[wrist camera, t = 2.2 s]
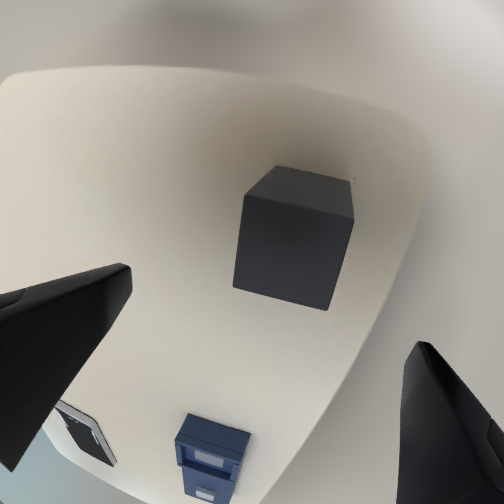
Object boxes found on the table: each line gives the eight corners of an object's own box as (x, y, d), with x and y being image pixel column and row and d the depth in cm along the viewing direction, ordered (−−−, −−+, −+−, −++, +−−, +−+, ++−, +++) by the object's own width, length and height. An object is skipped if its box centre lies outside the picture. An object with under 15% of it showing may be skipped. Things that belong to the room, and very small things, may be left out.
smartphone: (80, 449, 44) (52, 403, 37) (83, 444, 45) (56, 397, 38) (114, 468, 43) (90, 426, 36) (118, 462, 44) (95, 419, 37)
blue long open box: (250, 433, 28) (240, 462, 25) (232, 494, 37) (225, 513, 34) (188, 413, 29) (174, 439, 26) (190, 480, 38) (182, 499, 35)
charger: (350, 181, 16) (355, 219, 11) (333, 249, 18) (327, 312, 13) (274, 164, 17) (241, 193, 11) (263, 233, 19) (230, 287, 13)
